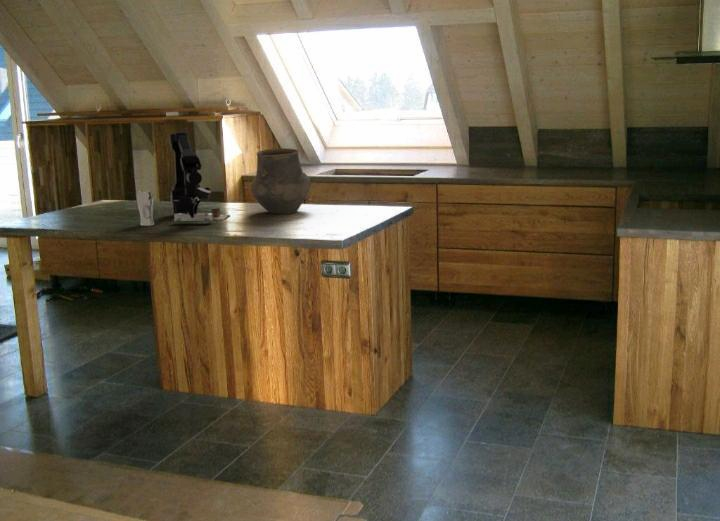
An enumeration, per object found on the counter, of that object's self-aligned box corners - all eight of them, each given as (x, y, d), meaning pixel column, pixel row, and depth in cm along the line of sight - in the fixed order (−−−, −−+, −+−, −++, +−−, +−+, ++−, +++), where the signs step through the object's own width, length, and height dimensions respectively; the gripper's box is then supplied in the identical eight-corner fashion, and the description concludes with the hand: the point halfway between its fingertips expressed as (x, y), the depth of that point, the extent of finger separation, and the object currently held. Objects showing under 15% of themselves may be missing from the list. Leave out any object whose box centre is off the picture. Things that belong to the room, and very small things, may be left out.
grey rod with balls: (173, 221, 374) (172, 214, 373) (176, 219, 377) (176, 213, 377) (211, 221, 371) (211, 214, 370) (214, 219, 375) (214, 213, 374)
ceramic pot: (315, 207, 411) (313, 146, 405) (306, 216, 384) (303, 151, 377) (259, 208, 414) (256, 148, 408) (246, 217, 387) (242, 153, 380)
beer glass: (136, 225, 375) (133, 192, 372) (150, 223, 380) (148, 190, 376) (143, 226, 370) (140, 193, 367) (157, 224, 374) (155, 191, 371)
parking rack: (181, 220, 383) (180, 210, 382) (189, 217, 394) (188, 206, 393) (222, 220, 380) (222, 209, 379) (230, 216, 390) (229, 206, 389)
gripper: (201, 185, 360) (203, 220, 363) (215, 179, 378) (217, 213, 381) (176, 185, 362) (179, 220, 365) (191, 180, 380) (194, 213, 383)
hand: (193, 217), depth 374 cm, fingers closed on grey rod with balls, 3 cm apart
